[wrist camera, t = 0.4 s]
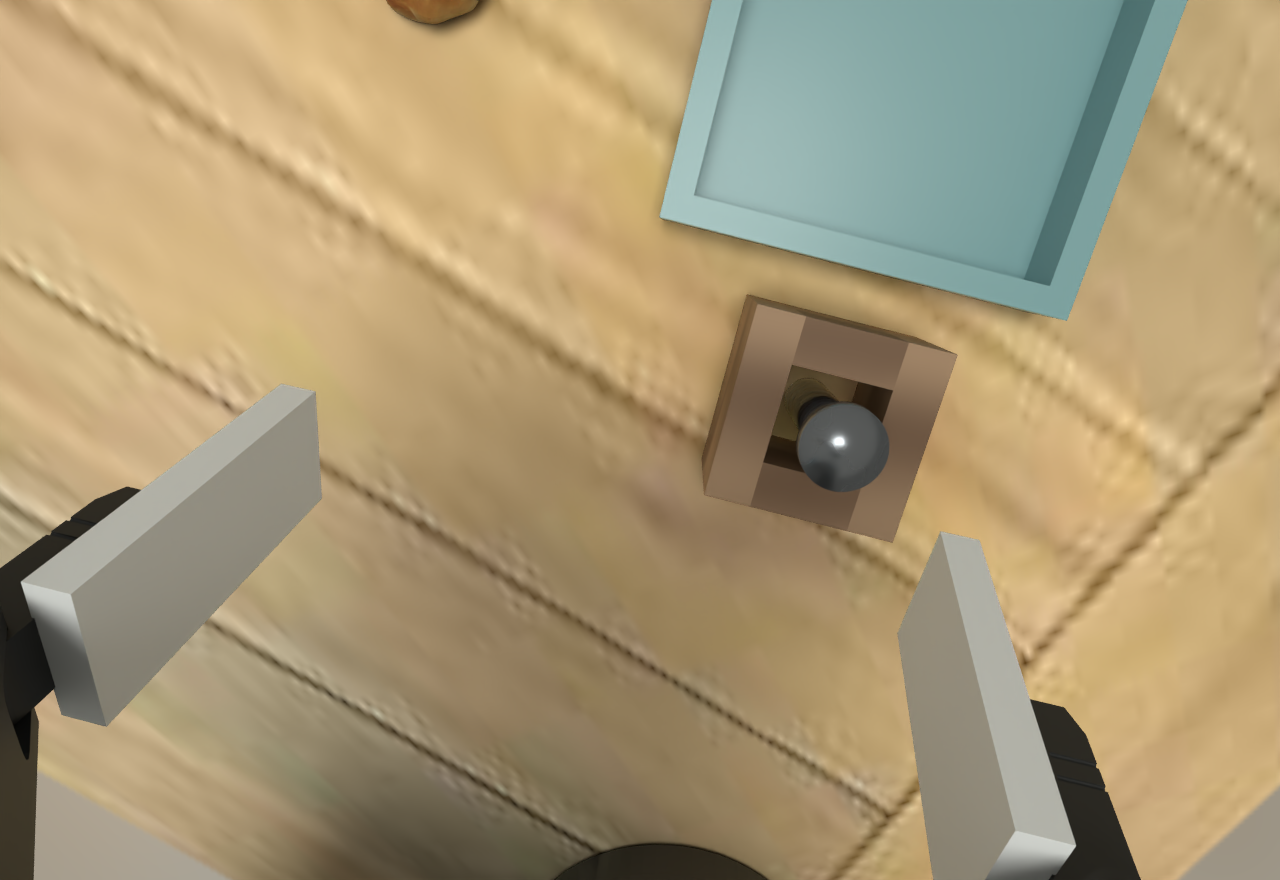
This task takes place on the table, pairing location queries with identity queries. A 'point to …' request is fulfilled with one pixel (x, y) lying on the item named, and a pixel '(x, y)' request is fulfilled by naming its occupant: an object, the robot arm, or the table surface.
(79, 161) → the table surface
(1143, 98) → the tray
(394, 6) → the pastry
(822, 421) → the metal bolt
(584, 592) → the table surface
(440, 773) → the table surface
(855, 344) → the collar
